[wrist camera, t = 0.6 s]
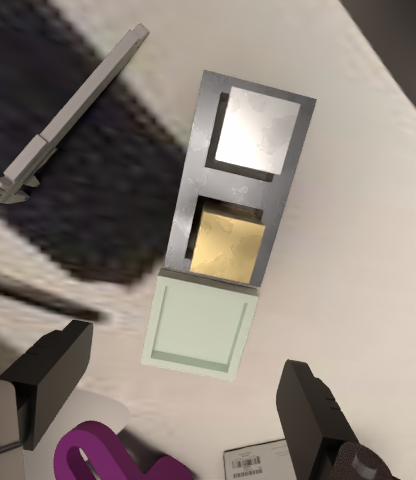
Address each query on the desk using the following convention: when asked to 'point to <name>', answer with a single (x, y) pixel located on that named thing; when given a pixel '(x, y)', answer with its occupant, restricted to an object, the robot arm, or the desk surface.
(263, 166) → the grey upright block
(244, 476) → the hard drive box
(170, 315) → the parts tray
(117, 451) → the mounting bracket
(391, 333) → the desk surface
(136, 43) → the caliper
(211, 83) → the grey metal frame
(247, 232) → the golden yellow block
